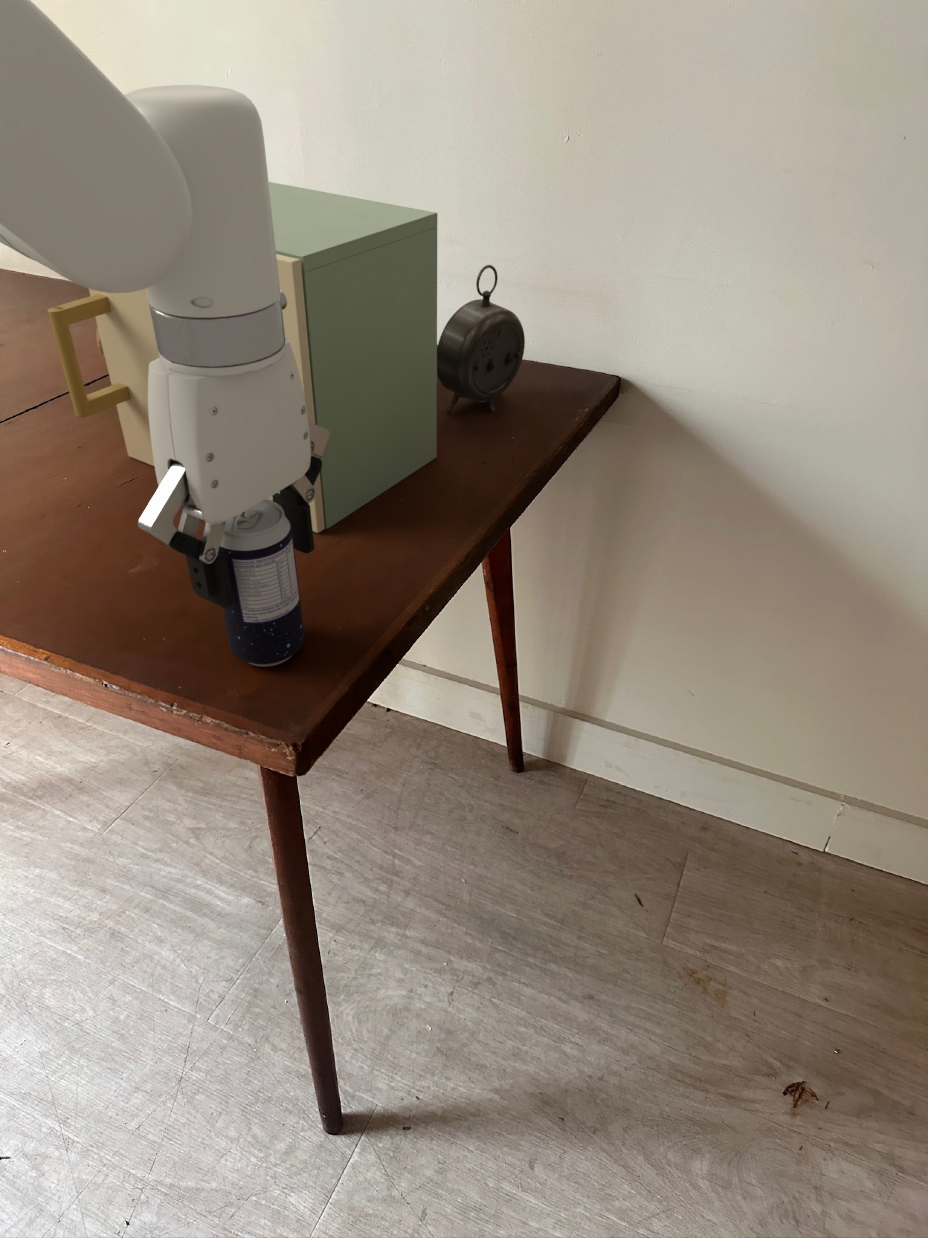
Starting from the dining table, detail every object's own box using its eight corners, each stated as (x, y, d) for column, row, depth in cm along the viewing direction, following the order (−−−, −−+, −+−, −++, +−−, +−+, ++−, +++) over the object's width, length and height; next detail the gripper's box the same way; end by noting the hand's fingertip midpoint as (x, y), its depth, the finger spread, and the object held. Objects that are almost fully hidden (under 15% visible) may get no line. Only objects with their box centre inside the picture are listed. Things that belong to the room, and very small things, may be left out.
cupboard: (326, 529, 81) (303, 256, 66) (137, 453, 92) (80, 205, 77) (436, 457, 93) (437, 212, 78) (257, 397, 104) (227, 173, 89)
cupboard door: (274, 561, 76) (237, 279, 61) (82, 477, 87) (11, 221, 73) (325, 529, 81) (301, 258, 66) (135, 452, 92) (79, 207, 77)
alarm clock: (497, 387, 108) (503, 251, 98) (528, 400, 105) (539, 261, 95) (432, 411, 102) (433, 268, 92) (464, 426, 99) (468, 280, 89)
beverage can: (313, 629, 69) (298, 497, 62) (295, 676, 64) (277, 539, 57) (243, 623, 69) (221, 492, 62) (221, 670, 65) (193, 533, 57)
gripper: (275, 282, 59) (299, 507, 70) (54, 358, 47) (124, 614, 58) (361, 304, 56) (372, 535, 67) (147, 391, 44) (203, 655, 55)
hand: (256, 570), depth 62 cm, fingers open, 7 cm apart
